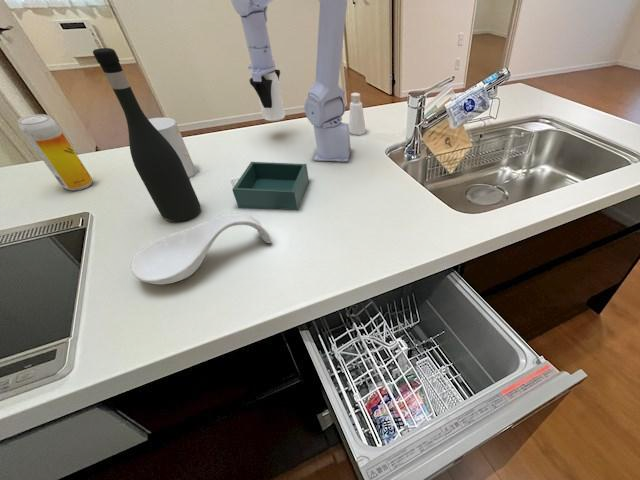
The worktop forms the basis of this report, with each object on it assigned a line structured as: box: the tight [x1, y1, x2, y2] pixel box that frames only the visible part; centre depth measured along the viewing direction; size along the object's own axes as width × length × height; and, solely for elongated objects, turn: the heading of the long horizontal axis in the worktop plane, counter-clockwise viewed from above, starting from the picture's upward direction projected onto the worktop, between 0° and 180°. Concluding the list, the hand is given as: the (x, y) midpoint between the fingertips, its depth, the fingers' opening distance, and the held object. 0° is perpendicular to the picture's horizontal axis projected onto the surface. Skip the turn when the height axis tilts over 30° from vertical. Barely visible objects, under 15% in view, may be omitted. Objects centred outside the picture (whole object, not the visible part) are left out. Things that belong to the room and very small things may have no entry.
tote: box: [232, 161, 310, 211], centre depth 82 cm, size 14×14×4 cm
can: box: [256, 69, 286, 122], centre depth 98 cm, size 6×6×12 cm
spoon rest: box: [130, 213, 272, 285], centre depth 64 cm, size 24×12×7 cm, turn 129°
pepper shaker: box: [348, 92, 367, 136], centre depth 107 cm, size 5×5×11 cm
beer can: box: [17, 113, 93, 192], centre depth 77 cm, size 6×6×15 cm
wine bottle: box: [92, 47, 201, 222], centre depth 66 cm, size 8×8×30 cm
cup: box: [147, 116, 197, 179], centre depth 84 cm, size 8×8×12 cm
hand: (271, 103), depth 100 cm, fingers closed on can, 6 cm apart
